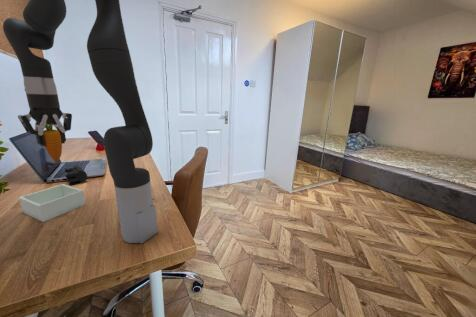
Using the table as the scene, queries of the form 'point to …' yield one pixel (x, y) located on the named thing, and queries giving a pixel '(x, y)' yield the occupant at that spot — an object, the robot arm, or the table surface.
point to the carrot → (53, 142)
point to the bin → (52, 202)
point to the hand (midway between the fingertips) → (53, 144)
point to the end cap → (75, 175)
